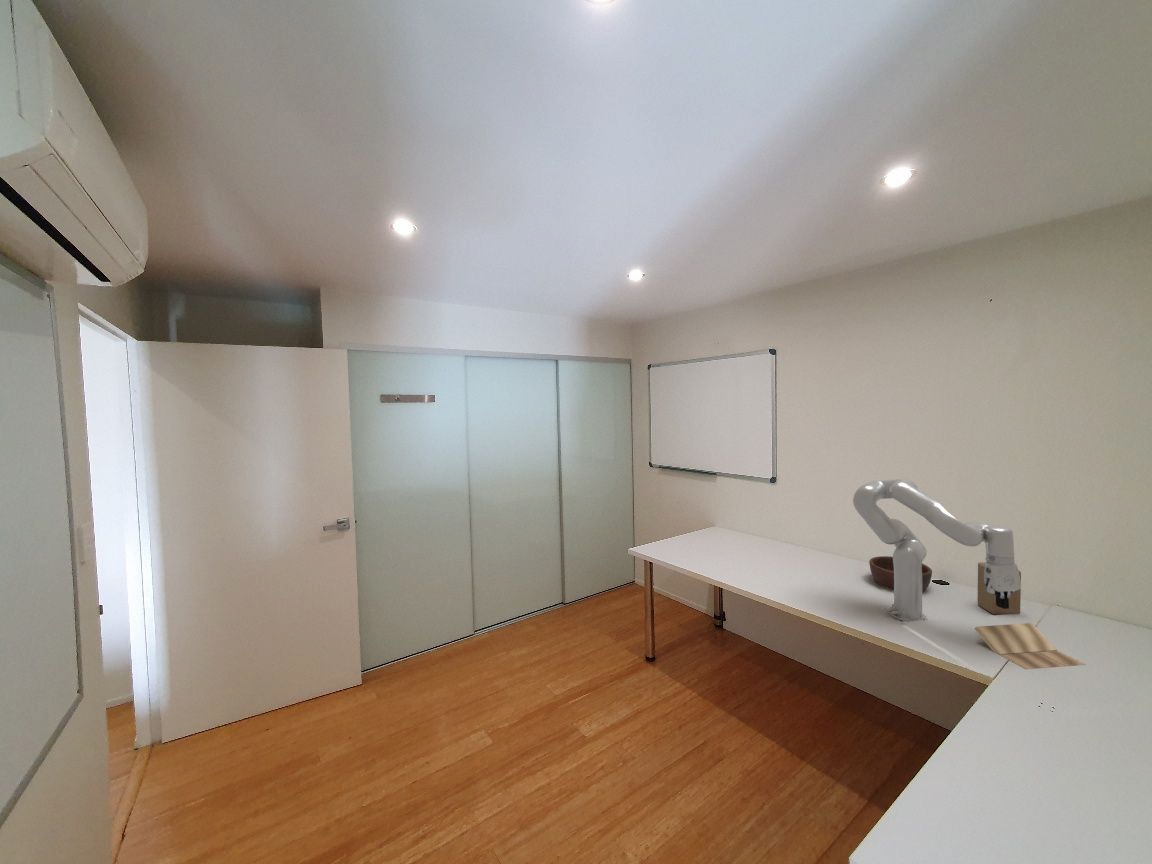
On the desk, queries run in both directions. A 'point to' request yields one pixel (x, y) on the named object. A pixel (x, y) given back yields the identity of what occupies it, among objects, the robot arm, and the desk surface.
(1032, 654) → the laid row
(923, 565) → the wooden bowl
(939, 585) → the desk surface
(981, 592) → the wooden block
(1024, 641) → the board
